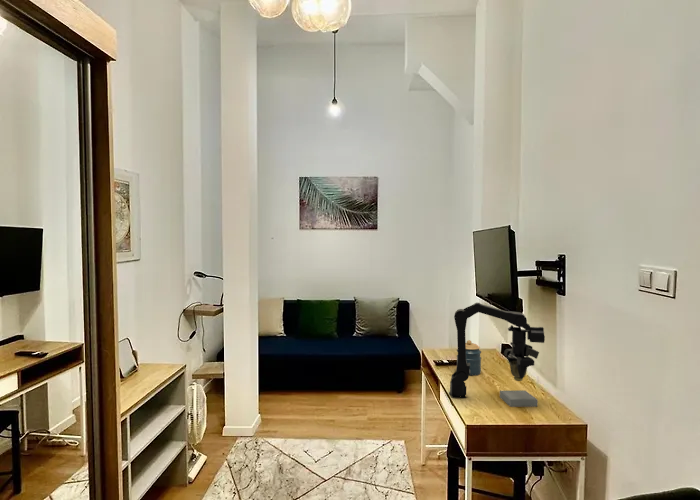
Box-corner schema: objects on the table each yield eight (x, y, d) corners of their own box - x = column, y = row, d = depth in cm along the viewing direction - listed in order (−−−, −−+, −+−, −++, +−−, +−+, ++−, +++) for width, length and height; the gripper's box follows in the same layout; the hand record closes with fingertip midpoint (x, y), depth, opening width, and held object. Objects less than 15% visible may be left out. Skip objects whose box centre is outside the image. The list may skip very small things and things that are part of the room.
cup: (505, 378, 201) (506, 360, 201) (519, 377, 204) (519, 359, 204) (517, 383, 194) (517, 365, 194) (531, 381, 197) (531, 363, 197)
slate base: (510, 406, 193) (510, 399, 193) (499, 397, 205) (499, 390, 205) (537, 406, 194) (537, 399, 194) (525, 396, 206) (525, 390, 206)
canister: (455, 374, 240) (455, 341, 240) (457, 368, 252) (458, 337, 252) (480, 377, 236) (481, 343, 236) (481, 370, 248) (482, 338, 248)
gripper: (546, 346, 190) (546, 382, 190) (527, 336, 209) (526, 370, 209) (521, 346, 189) (520, 382, 190) (504, 336, 208) (503, 370, 208)
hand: (518, 376), depth 199 cm, fingers closed on cup, 6 cm apart
